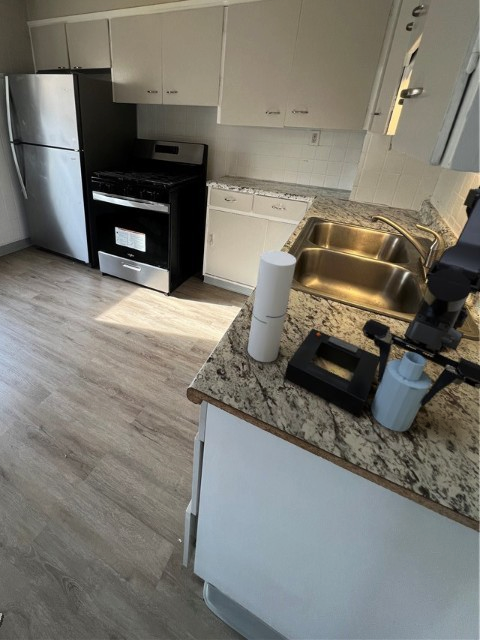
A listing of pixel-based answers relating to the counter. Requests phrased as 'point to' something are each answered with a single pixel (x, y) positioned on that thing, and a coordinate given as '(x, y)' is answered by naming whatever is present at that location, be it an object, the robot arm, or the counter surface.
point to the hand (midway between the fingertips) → (399, 393)
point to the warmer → (328, 383)
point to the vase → (401, 392)
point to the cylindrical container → (270, 304)
